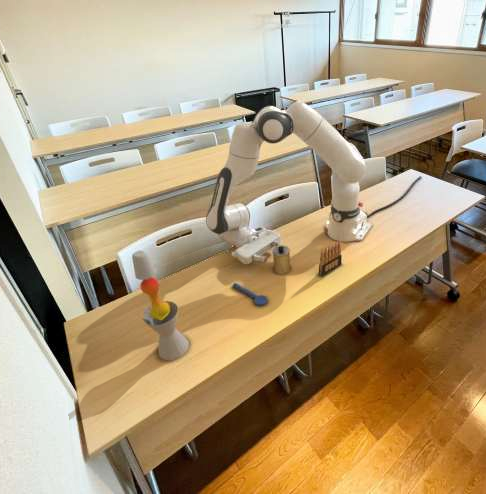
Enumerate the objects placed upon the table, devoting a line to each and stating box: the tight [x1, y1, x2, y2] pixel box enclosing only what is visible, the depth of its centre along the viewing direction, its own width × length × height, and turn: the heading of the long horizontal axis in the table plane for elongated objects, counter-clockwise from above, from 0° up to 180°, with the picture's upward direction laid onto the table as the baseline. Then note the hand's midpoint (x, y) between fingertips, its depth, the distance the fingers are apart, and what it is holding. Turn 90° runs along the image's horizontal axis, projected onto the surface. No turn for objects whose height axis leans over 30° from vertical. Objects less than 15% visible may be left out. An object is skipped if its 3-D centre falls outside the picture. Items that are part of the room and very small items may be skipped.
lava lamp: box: [131, 250, 190, 361], centre depth 90 cm, size 9×9×35 cm
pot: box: [271, 244, 291, 275], centre depth 127 cm, size 7×7×10 cm
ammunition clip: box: [318, 239, 343, 277], centre depth 126 cm, size 11×2×12 cm, turn 131°
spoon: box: [232, 282, 268, 307], centre depth 118 cm, size 16×4×1 cm, turn 52°
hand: (273, 253), depth 129 cm, fingers open, 8 cm apart
